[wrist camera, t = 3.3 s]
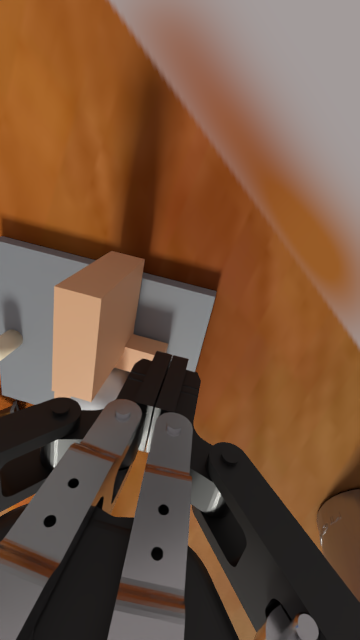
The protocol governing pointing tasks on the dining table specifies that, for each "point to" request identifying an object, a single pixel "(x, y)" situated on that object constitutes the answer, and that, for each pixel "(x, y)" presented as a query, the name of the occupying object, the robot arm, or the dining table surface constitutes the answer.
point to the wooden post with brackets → (10, 409)
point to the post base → (38, 309)
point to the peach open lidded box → (97, 326)
